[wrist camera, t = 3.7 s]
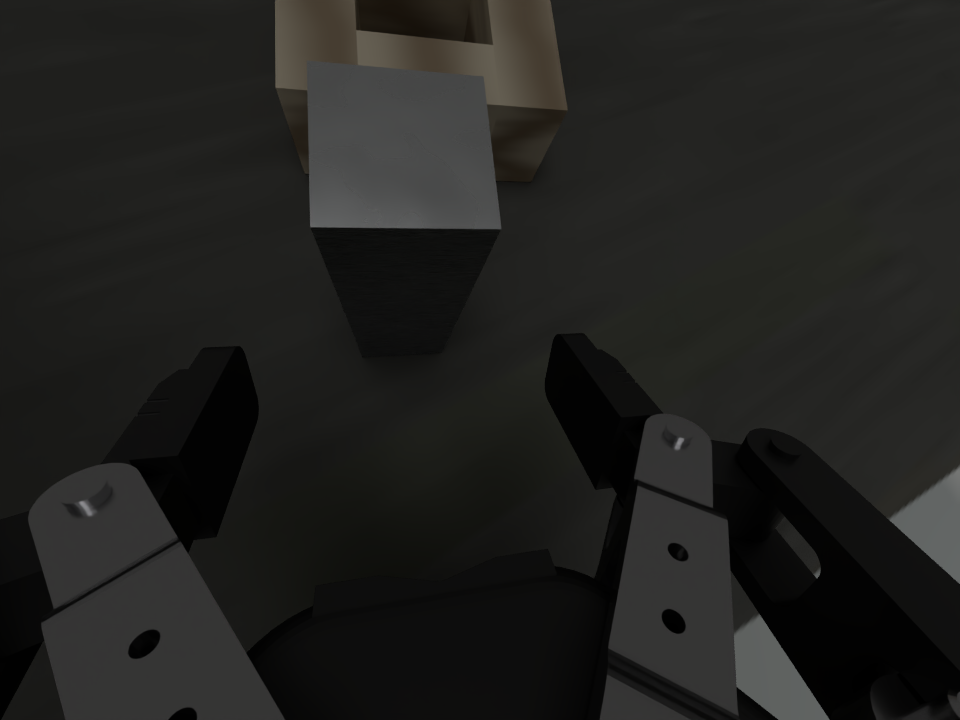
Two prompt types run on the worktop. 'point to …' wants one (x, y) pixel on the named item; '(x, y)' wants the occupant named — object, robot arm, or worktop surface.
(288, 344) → the worktop surface
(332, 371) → the worktop surface
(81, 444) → the worktop surface
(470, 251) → the grey square pillar
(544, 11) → the well block
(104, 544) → the robot arm
